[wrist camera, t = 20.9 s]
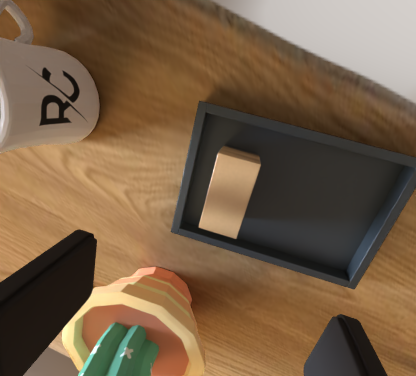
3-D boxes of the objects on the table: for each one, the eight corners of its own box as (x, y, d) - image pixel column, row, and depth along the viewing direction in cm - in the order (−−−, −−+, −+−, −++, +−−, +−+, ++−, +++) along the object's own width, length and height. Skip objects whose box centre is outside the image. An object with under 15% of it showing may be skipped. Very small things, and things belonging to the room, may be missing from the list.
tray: (414, 156, 21) (431, 161, 19) (346, 276, 25) (354, 290, 23) (203, 101, 22) (199, 100, 20) (176, 223, 27) (170, 232, 25)
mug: (112, 138, 25) (30, 155, 16) (41, 146, 27) (-70, 165, 17) (81, 2, 21) (-51, -82, 12) (1, 21, 23) (-168, -39, 14)
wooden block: (224, 144, 23) (218, 152, 18) (259, 154, 22) (261, 164, 18) (207, 208, 25) (198, 227, 21) (238, 217, 25) (236, 239, 21)
